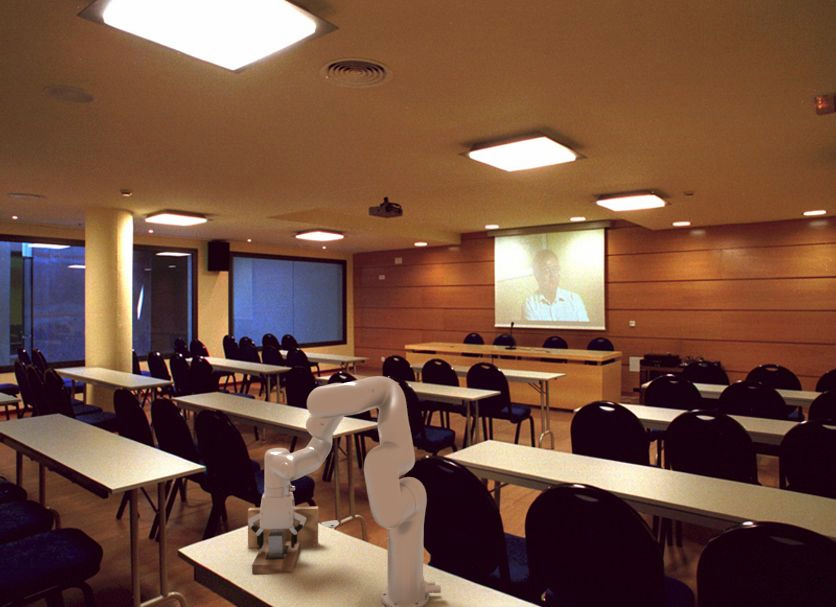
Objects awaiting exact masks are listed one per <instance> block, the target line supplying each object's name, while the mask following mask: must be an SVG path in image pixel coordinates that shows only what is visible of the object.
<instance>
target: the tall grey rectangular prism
mask: <svg viewBox="0 0 836 607" xmlns="http://www.w3.org/2000/svg"><path fill="white" fill-rule="evenodd" d="M285 555H286V529H272V530H271V532H270V534H269V560H272V559H284V557H285Z"/></svg>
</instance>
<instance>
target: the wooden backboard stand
mask: <svg viewBox="0 0 836 607" xmlns="http://www.w3.org/2000/svg"><path fill="white" fill-rule="evenodd" d="M295 512H296V513H298V514H300V515H302V516H304V517H306V521H305V523H304V525H303V527H302V529H301V530H300V531H299V532H298V533H297V544H295V546H294V548H291V535H292V532H291V531H290V529H286V555H285V557H284V559H272V560H269V534H270V532H271V530H272V529H264V530H263V532H264V544H263V546H262V548H261V549H259V545H257V535H256V533H255V532H254V531H253V530H252V529H251V527H250V525H249V523H248V522H247V548H249V549H252V548H253V549H255V548H258V549H259V550H258V553H257V554H256V556H255V558H254V559H253V563H252V564H251V573H252V574H254V575H255V574H281V573H282V574H283V573H286V574H287V573H293V572H294V569H295V566H296V563H297V559H298V557H299V554H300V550H301V547H317V546H316V545H319V506H295ZM259 513H260V507H249V508H248V510H247V521H248V520H249V519H250V518H252V517H254V516H255V515H257V514H259ZM259 520H260V519H258V520H256V521H255V524H256V525H257V526H258V527H260V524H259ZM294 524H295V525H296V526H298V525H299V524H300V521H299V520H297V519H295V522H294ZM314 545H315V546H314Z"/></svg>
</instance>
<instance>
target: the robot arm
mask: <svg viewBox="0 0 836 607" xmlns="http://www.w3.org/2000/svg"><path fill="white" fill-rule="evenodd" d="M406 400H407V399H406V396H405V393H404V390H403V389H402V387H401V386H400V384H399V383H398V382H396V381H395V380H394V379H393V378H389V377H387V376H382V375H377V376H376V375H375V376H369V377H365V378H361V379H356V380H352V381H349V382H344V383H342V382H334V383H329V384H326V385H321V386H317V387H316V388H313V390H312V391H311V392H310V393H309V395H308V397H307V399H306V408H307V410H308V413H309V414H310V415H309V416H308V418H307V420H306V422H305V428H306V430H307V432H308V433H309V434H310V435H311V436H312V437H311V440H310V441H309V442H308V444H307V445H306V446H305V447H304V448H302V449H299V450H296V451H294V452H290V450H289V449H287V448H285V447H273V448H270V449H268V450H266V452H265V453H264V492H263V493H262V496H261V501H260V502H261V503H260V507H259V508H260V513H259V514H257V515H255V516H254V517H252V518H250V519H249V520H248V519H247V524H248V523H249V525H250V527H251V529H252V530H253V531H254V532H255V533H256V535H257V545H259V548H258V549H259V550H260V549H261V548H262V546H263V544H264V532H263V530H264V529H290V531H291V532H292V535H291V548H294V546H295V544H297V533H298V532H299V531H300V530H301V529H302V527H303V525H304V523H305V521H306V517H304V516H302V515H300V514H298V513H296V512H295V507H296V506H295V498H294V494H293V492H294V491H295V490H296V486H295V485H292V484H291V482H293V481H295V480H298V479H300V478H302V477H304V476H307V475H309V474H311V473H314V472H315V471H317V470H319V468H320V467H321V466H323V463H324V462H325V461H326V458H327V457H328V455H329V454H330V452H331V450H332V446H333V435H334V434H335V431H336V430H337V428H338V427H339V425H340V423H341V422H342V420H343V419H344V417H345V416H353V415H357V414H362V413H365V412H367V411H370V410H371V411H372V410H373V409H375V408H376V409H378V416H377V431H378V437H379V445H376V446H375V447H373V448H372V449H370V450H369V451H368V453H366V456H365V459H364V463H363V473H364V480H365V485H366V493H367V498H368V503H369V508H370V513H371V515H372V519H374V521H375V523H376V524H377V525H378V526H379V527H381V528H383V529H386V530H387V575H386V576H387V581H386V582H387V584H386V585H387V586H386V587H385V588H384V589H383V590H382V591H381V601H382V603H383V604H384V605H385V607H424V606H426V605H427V603H428V602H429V599H430V594H441V592H442V588H441V586H442V585H441V584H436V581H433V580H431V581H427V580H425V576H424V529H425V528H424V525H425V524H424V523H425V516H426V508H427V502H428V500H427V499H428V498H427V492H426V488H425V485H423V483H422V482H421V481H420V480H419V479H417V478H415V477H411V476H407V477H402V476H403V475H406V474H407V473H408V472H409V471H411V470H412V469H413V468H414V465H415V463H416V456H415V448H414V444H413V437H412V432H411V427H410V421H409V416H408V415H409V414H408V408H407V406H408V405H407V401H406ZM400 477H402V478H400ZM258 519H260V520H259V524H260V527H258V526H257V525H256V524H255V521H256V520H258ZM295 519H297V520H299V521H300V524H299V525H298V526H296V525H295V524H294V522H295Z"/></svg>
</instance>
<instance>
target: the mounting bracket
mask: <svg viewBox="0 0 836 607" xmlns="http://www.w3.org/2000/svg"><path fill="white" fill-rule="evenodd" d="M339 524H340V522H339V520H338V519H334V520H327V521H322V522H321V525H322V527H323V526H325V527H324V528H330V529H334V528H336V527H337V525H339Z"/></svg>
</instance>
